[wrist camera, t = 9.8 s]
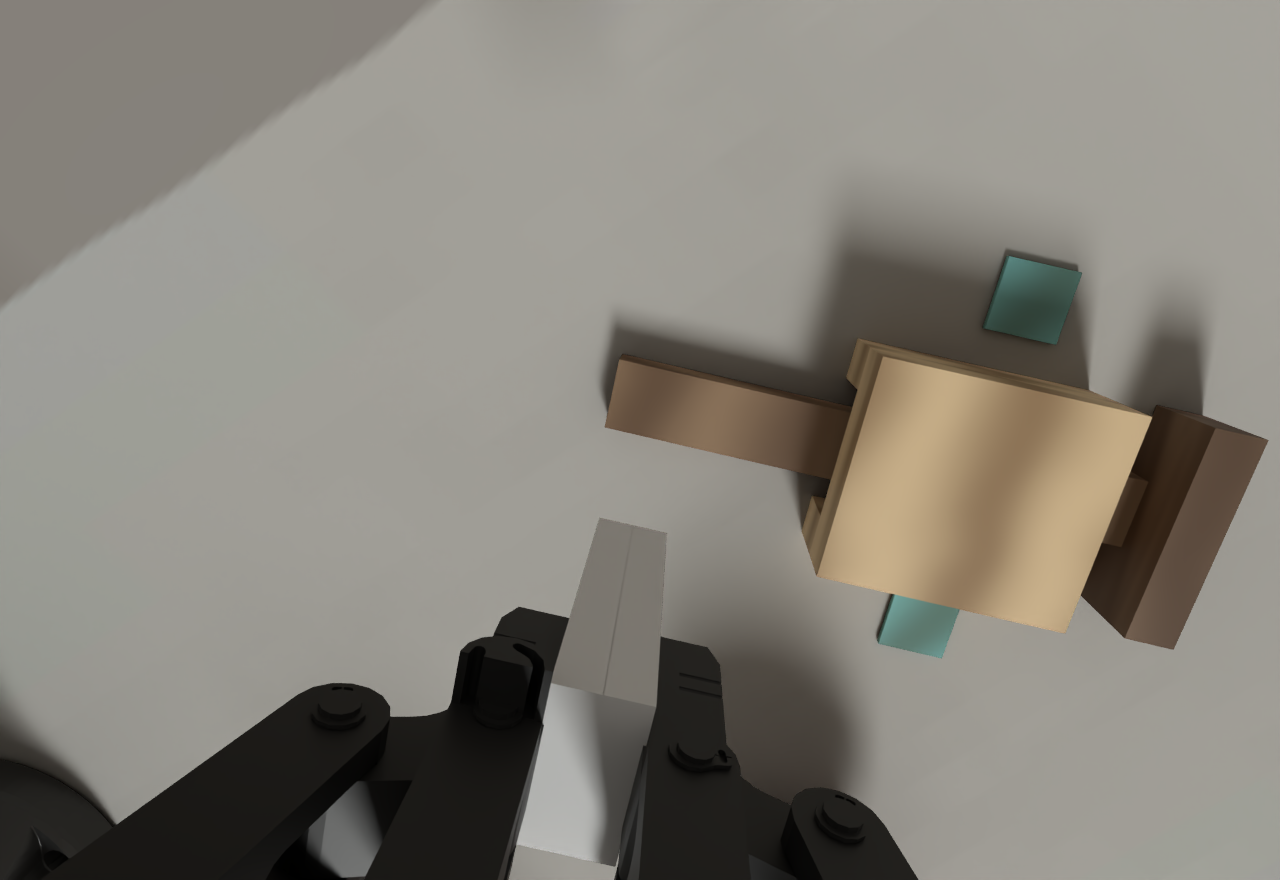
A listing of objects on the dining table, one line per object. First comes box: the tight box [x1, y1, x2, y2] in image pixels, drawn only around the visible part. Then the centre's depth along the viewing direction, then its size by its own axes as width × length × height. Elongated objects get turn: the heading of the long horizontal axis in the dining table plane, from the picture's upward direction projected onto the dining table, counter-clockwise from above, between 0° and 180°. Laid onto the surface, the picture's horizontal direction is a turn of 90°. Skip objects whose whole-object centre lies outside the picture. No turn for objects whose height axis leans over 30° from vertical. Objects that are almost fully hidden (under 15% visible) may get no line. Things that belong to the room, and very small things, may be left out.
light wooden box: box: [802, 339, 1152, 633], centre depth 33 cm, size 10×9×5 cm
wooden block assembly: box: [605, 256, 1268, 658], centre depth 33 cm, size 24×18×4 cm
